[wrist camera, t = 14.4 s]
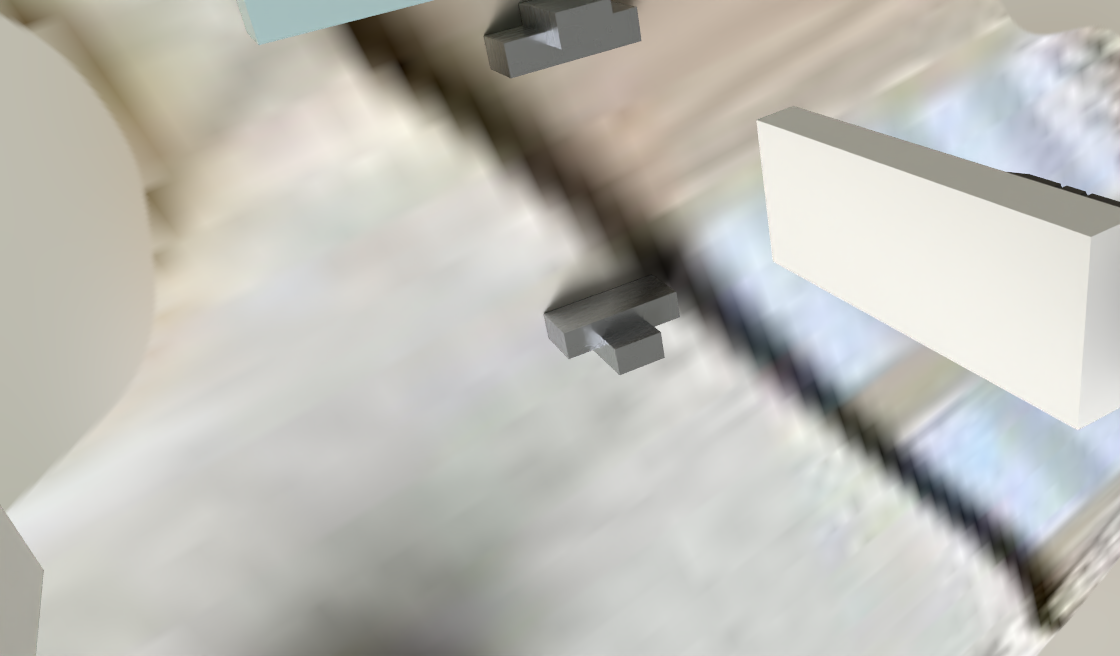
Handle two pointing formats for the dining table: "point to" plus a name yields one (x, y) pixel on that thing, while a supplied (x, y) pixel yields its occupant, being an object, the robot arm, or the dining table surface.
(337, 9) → the parts bin
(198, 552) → the dining table surface
